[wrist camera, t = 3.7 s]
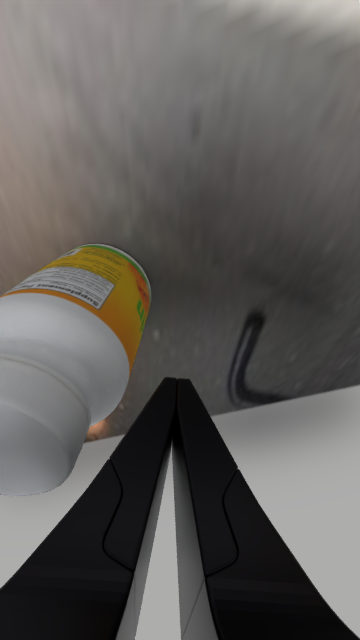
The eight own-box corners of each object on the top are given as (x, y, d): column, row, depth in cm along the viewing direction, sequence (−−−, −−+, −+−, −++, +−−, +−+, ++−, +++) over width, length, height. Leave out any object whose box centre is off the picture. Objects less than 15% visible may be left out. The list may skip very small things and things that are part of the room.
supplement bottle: (141, 339, 16) (88, 524, 8) (53, 317, 16) (-107, 490, 7) (163, 259, 14) (119, 405, 5) (59, 227, 13) (-187, 334, 4)
